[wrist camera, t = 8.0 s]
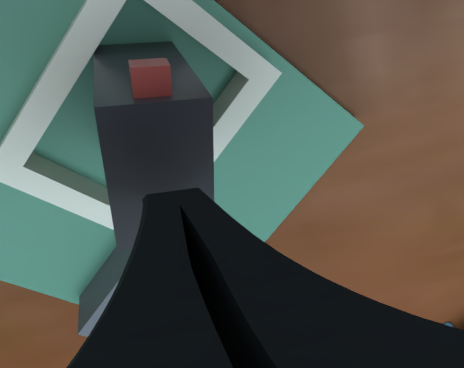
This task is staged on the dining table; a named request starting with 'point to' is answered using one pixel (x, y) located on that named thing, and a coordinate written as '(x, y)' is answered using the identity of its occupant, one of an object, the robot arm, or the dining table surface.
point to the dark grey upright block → (150, 128)
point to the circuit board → (88, 147)
